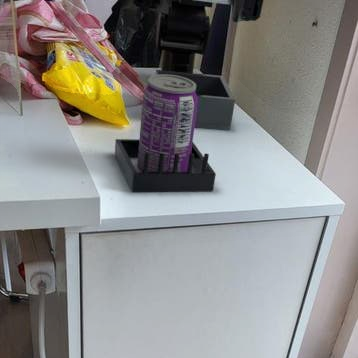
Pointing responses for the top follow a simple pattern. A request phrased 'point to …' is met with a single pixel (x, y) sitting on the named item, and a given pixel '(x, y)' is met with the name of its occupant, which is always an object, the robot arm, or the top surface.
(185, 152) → the beverage can
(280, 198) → the top surface
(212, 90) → the grey storage bin
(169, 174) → the dish rack
